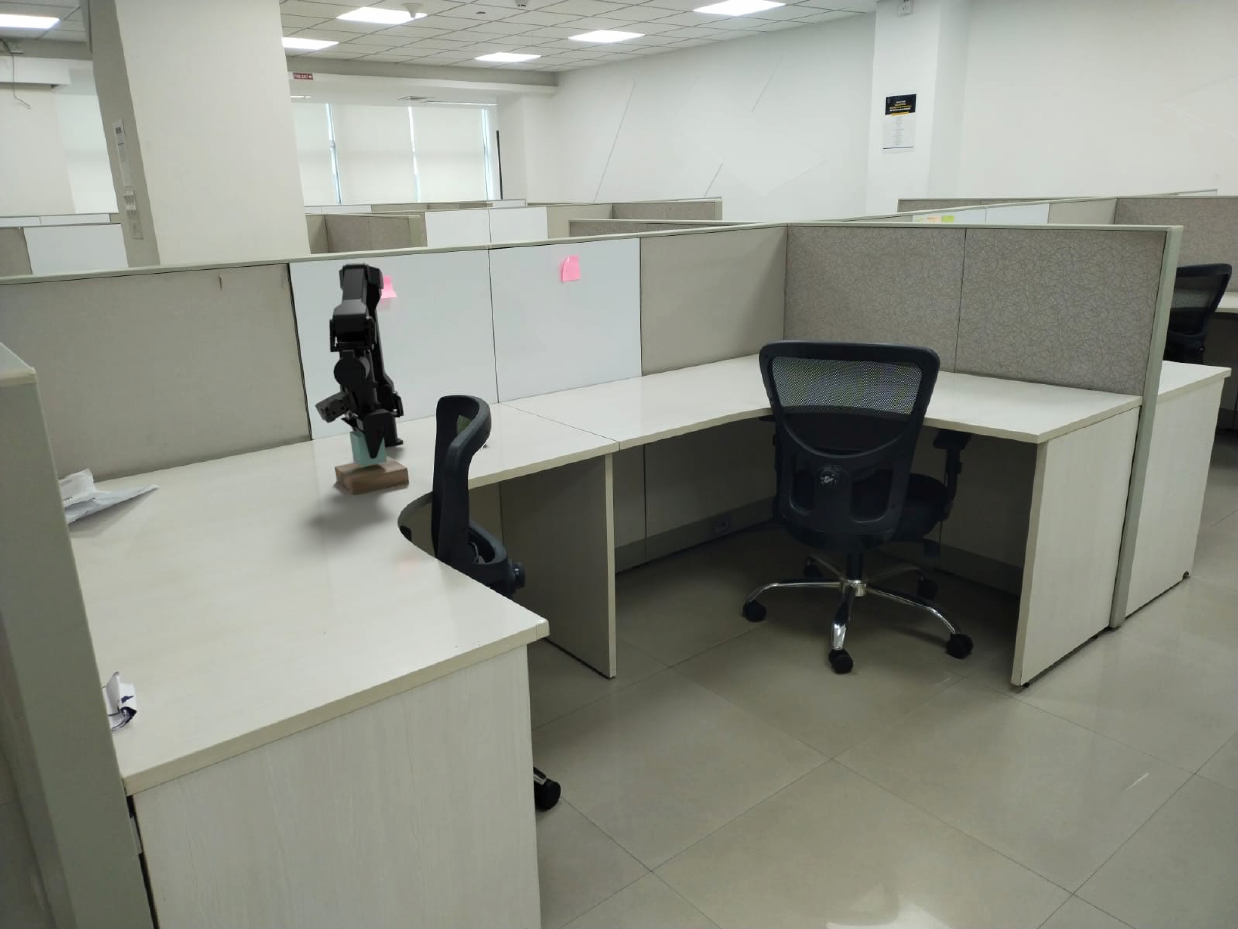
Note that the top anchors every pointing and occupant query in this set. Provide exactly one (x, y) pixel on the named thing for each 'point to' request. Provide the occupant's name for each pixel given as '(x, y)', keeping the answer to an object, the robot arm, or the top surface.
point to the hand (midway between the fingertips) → (369, 455)
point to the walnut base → (371, 476)
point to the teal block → (365, 450)
